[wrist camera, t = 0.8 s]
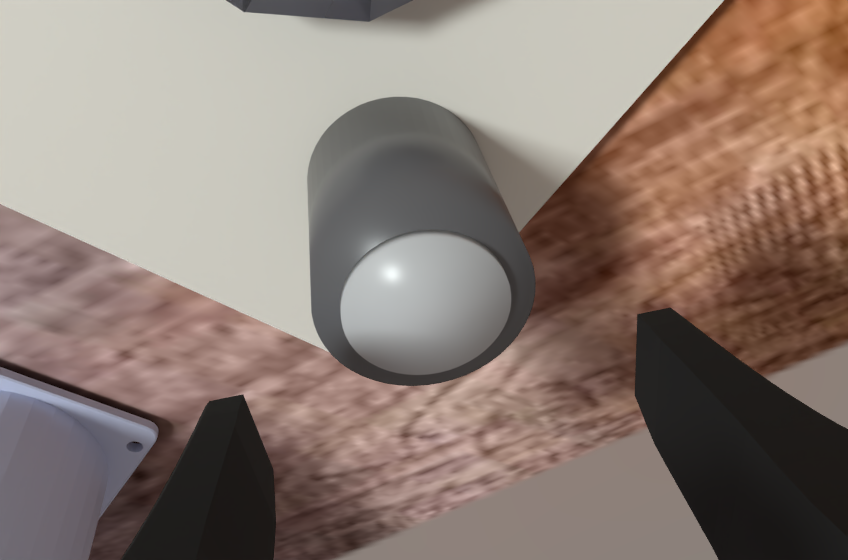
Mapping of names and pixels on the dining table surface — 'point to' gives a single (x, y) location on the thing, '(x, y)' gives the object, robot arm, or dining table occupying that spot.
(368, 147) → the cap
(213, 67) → the board
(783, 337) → the dining table surface
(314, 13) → the grey faceted ring
